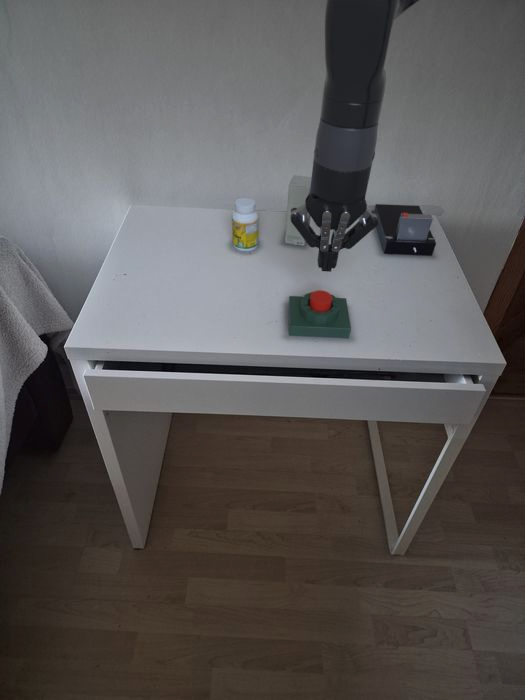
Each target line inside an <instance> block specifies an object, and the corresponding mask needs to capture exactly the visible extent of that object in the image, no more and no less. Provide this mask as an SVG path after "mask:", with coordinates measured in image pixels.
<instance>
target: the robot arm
mask: <svg viewBox="0 0 525 700" xmlns="http://www.w3.org/2000/svg"><path fill="white" fill-rule="evenodd" d="M419 1H420V0H326V2H325V3H326V5H325V12H324V13H325V15H324V64H325V79H324V84H323V89H322V91H323V92H322V98H321V99H322V100H321V107H320V108H321V109H320V117H319V123H318V127H317V131H316V135H315V142H314V150H313V161H312V171H311V177H312V179H311V188H310V193H309V195H308V196H307V198H306V200H305V204H304V205H302V206H301V207H299V208H298V209H297V208H292V209H291V214H290V216H291V222H292V224H293V225H294V226H295V228H296V229H297V230H298V232H299V233H300V234H301V236H302V237H303V238H304V240H305V241H306V244H307V246H308V247H310V248H317V249H318V254H317V266H318V268H319V269H321V272H330V273H331V272H332V269H336V267H337V264H338V260H339V254H340V251H341V250H343V249H346V250H350V249H352V248H354V247H355V246H356V245H357V244H358V243H359V242H360V241H362V240H363V239H364V238H365V237H366V236H367V235H368V234H369V233H370V232H372V231H373V230H374V229H375V228H376V226H377V225H378V219H377V215H376V212H375V211H374V210H370V209H369V208H368V204H367V200H366V195H367V190H368V185H369V181H370V177H371V172H372V166H373V163H374V162H373V161H374V159H375V157H376V146H377V140H378V129H379V128H378V127H379V120H380V117H381V112H382V106H383V101H384V98H385V97H384V96H385V92H386V85H387V84H386V83H387V74H386V70H385V64H386V59H387V55H388V54H387V53H388V49H389V43H390V38H391V34H392V29H393V25H394V21H395V20H396V19H397V18H398V17H400V16H401V15H402V14H403V13H405V12H406V11H407V10H409V9H410V8H411V7H412V6H413V5H415V4H416V3H418V2H419ZM307 213H309V214H310V218H311V219H312V220H313V222H314V224H315V225H316V227H318V228H319V234H316V232H315V230H314V228H313V227H312V226H311V224H310V225H309V224H308V222H307V220H308V218H307ZM356 221H358V222H356ZM352 225H353V226H352ZM350 227H351V228H350ZM349 228H350V229H349ZM347 229H349V230H347ZM331 230H332V232H331Z"/></svg>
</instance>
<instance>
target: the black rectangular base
mask: <svg viewBox="0 0 525 700" xmlns="http://www.w3.org/2000/svg"><path fill="white" fill-rule="evenodd" d="M373 209H374V210H373V211H375V212H376V215H377V219H378V225H377V226H376V227H375V228H376V231H377V234H378V235H377V236H378V238H379V241H380V245H381V249H382V252H383V255H398V256H401V255H402V256H425V257H432V256H433V254H434V251H435V249H436V246H437V242H436V238H435V237H434V235H433V233H432V231H431V228H430V229H429V232H428V235H427V239H426V241H416V240H396V237H395V234H396V230H397V227H398V223H399V219H400V216H401V213H408V214H424V213H423V211H422V209H421V207H420V205H412V204H410V205H408V204H387V203H385V204H384V203H375V205H374V208H373Z"/></svg>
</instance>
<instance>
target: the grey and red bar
mask: <svg viewBox="0 0 525 700" xmlns="http://www.w3.org/2000/svg"><path fill="white" fill-rule="evenodd" d="M433 220H434V218H433V216H432V214H425V213H423V214H408V213H401V216H400V219H399V223H398V227H397V230H396V234H395V237H396V240H416V241H426V239H427V235H428V232H429V229H430V230H431V226H432V223H433Z"/></svg>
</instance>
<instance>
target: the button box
mask: <svg viewBox="0 0 525 700" xmlns="http://www.w3.org/2000/svg"><path fill="white" fill-rule="evenodd" d="M313 292H314V291H311V292H308V293H305V294H304V295H303V296H300V295H299V296H298V295H290V296H289V297H288V337H305V338H307V337H309V338H310V337H311V338H314V337H315V338H334V339H349V338H350V335H351V330H352V326H351V320H350V314H349V309H348V307H349V306H348V301H347V298H345V297H336V296H335V295H334V294H331V296H332V303H331V308H330V309H329V310H328V311H325V312H321V311H316V310H313V309H311V307H310V305H309V303H310V296H311V294H312V293H313Z"/></svg>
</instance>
